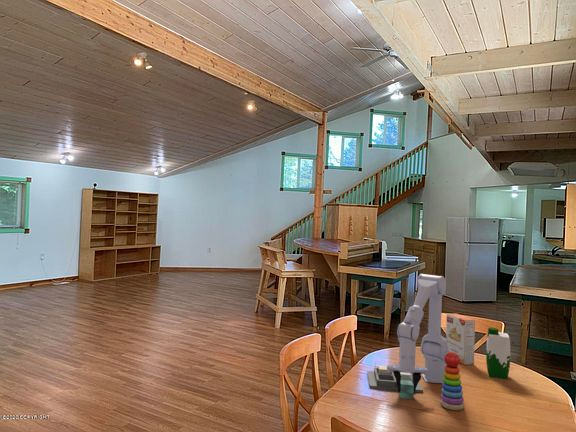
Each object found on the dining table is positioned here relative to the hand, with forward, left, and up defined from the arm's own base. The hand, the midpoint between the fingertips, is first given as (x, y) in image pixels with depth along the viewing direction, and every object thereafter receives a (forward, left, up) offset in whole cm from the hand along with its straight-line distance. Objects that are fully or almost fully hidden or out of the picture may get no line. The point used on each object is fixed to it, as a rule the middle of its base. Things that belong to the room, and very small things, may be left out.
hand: (406, 392), depth 154 cm
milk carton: (-43, -31, -2) cm, 53 cm away
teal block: (0, 0, -1) cm, 1 cm away
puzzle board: (+3, -13, -1) cm, 13 cm away
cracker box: (-32, -49, -2) cm, 58 cm away
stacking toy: (-15, +5, -2) cm, 16 cm away
